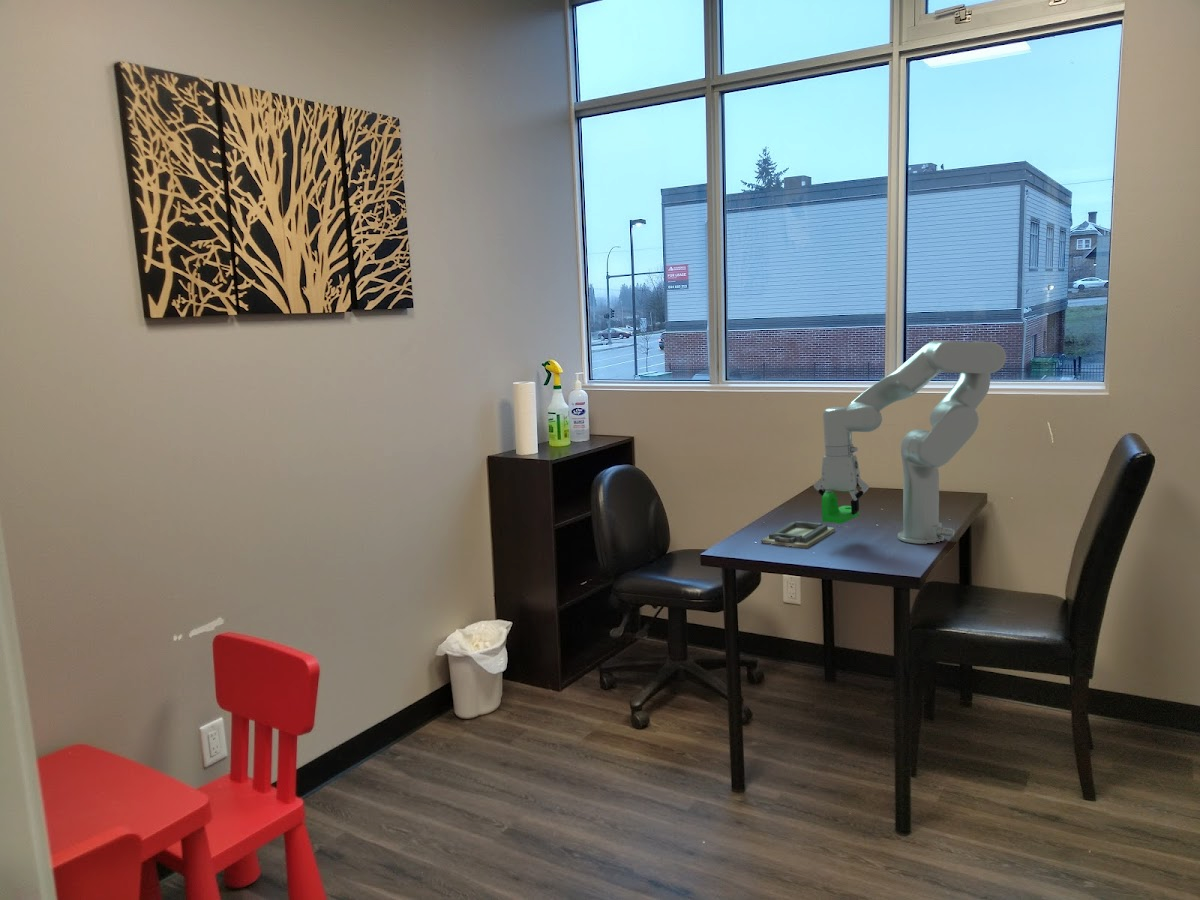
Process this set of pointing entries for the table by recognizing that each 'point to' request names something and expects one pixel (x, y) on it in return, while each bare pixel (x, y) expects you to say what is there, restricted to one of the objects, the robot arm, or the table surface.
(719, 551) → the table surface
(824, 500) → the mechanical part
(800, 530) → the board
